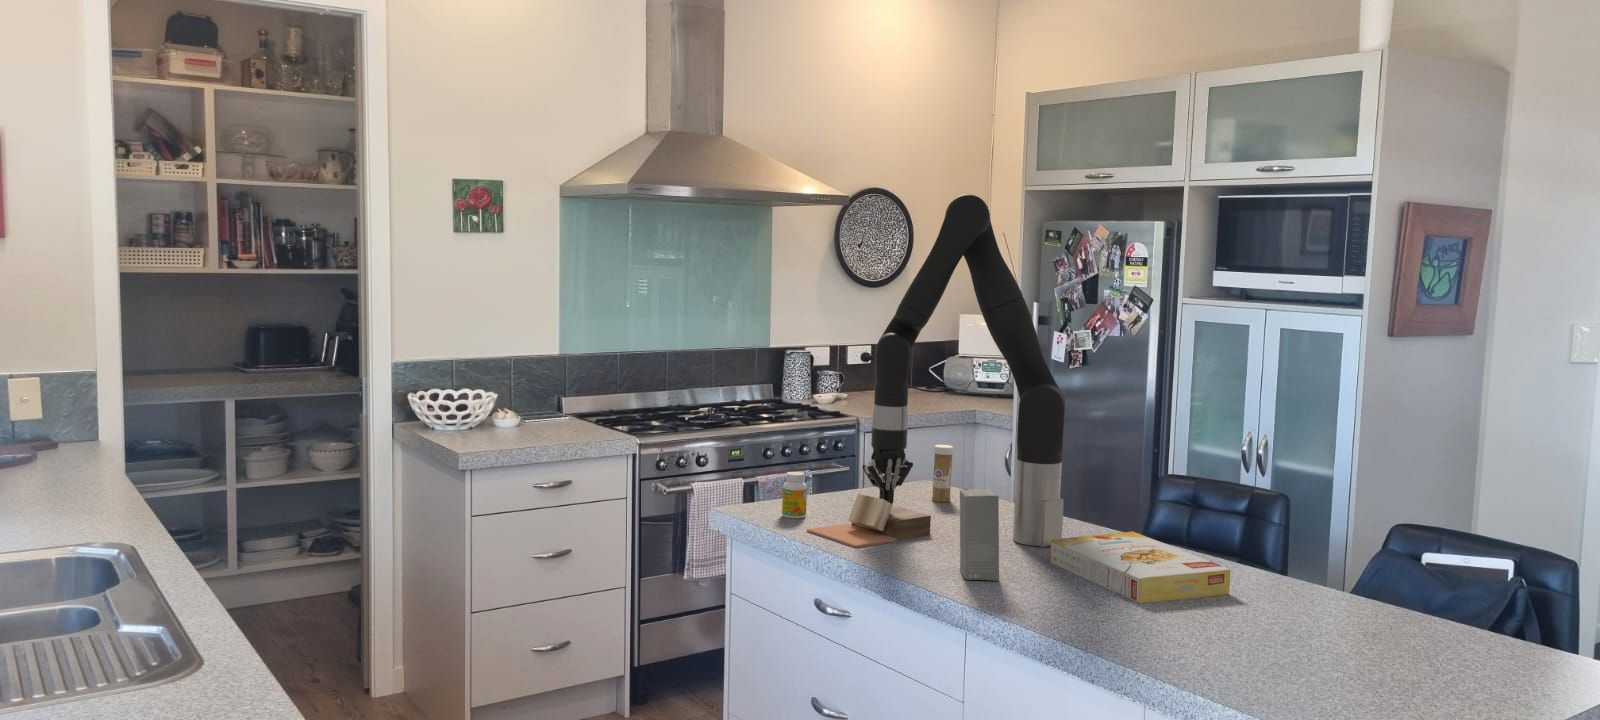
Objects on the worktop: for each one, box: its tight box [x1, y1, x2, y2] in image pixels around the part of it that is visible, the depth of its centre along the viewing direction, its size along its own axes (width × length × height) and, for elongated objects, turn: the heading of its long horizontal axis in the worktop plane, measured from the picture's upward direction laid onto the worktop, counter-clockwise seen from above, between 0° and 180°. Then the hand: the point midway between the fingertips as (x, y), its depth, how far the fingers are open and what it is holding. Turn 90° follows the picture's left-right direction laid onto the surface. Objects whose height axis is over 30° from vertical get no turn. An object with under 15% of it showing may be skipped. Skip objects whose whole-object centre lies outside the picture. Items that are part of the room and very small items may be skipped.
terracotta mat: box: [806, 522, 897, 549], centre depth 246 cm, size 16×11×1 cm
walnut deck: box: [851, 504, 932, 540], centre depth 253 cm, size 14×10×4 cm
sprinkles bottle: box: [931, 444, 954, 503], centre depth 285 cm, size 5×5×14 cm
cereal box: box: [1049, 531, 1231, 604], centre depth 221 cm, size 20×6×28 cm
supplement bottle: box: [781, 471, 808, 520], centre depth 263 cm, size 5×5×10 cm
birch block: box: [847, 494, 894, 531], centre depth 248 cm, size 8×6×3 cm
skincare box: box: [959, 488, 1000, 582], centre depth 219 cm, size 8×7×16 cm
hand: (886, 506), depth 252 cm, fingers closed
